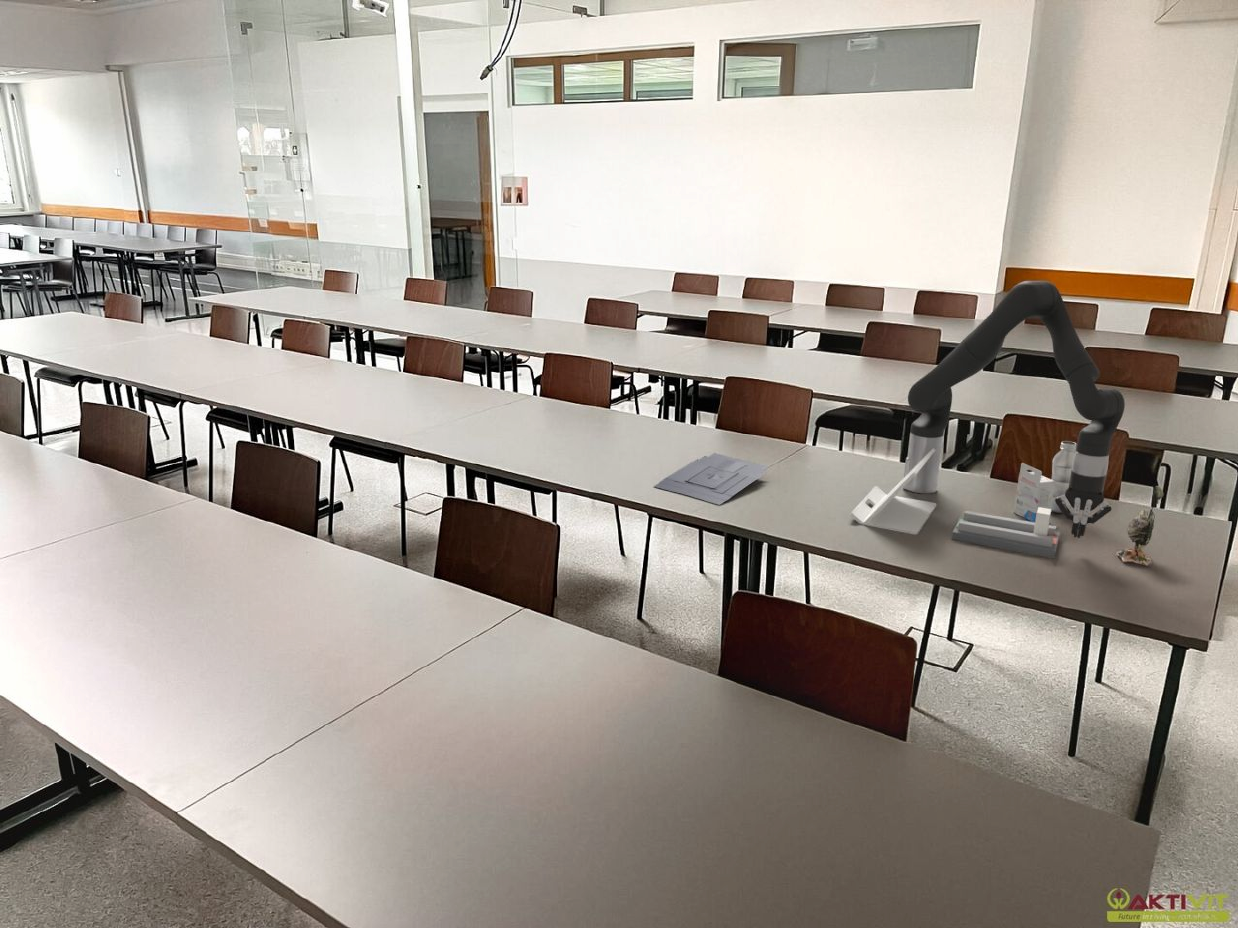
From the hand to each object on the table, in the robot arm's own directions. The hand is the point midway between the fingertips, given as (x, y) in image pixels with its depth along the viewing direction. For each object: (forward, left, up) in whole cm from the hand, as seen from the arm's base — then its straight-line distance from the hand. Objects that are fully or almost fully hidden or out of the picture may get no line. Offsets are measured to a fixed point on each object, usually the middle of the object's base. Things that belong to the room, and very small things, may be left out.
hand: (1077, 536), depth 216 cm
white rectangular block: (-8, 0, -2) cm, 8 cm away
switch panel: (-16, 0, -4) cm, 17 cm away
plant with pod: (+13, +3, -4) cm, 14 cm away
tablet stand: (-45, +4, -5) cm, 46 cm away
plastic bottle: (-6, +28, -4) cm, 29 cm away
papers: (-99, +2, -5) cm, 99 cm away
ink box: (-12, +20, -4) cm, 24 cm away
